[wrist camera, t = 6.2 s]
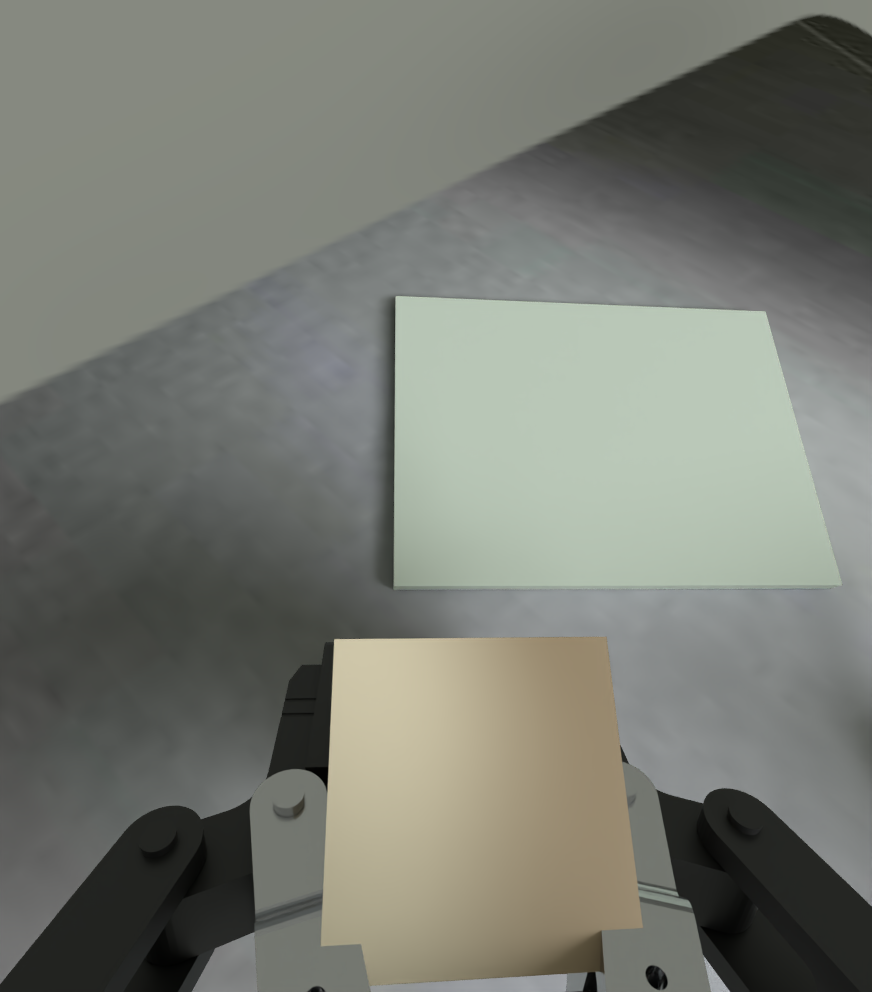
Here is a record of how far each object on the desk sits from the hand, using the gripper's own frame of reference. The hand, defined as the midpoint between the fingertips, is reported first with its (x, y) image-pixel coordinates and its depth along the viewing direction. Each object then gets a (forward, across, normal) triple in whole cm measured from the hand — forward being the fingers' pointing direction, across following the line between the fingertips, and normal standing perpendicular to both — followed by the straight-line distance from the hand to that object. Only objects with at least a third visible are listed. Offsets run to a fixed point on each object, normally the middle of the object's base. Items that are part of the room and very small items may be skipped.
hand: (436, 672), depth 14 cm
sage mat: (+10, -7, -3) cm, 13 cm away
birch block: (+2, 0, +5) cm, 5 cm away
